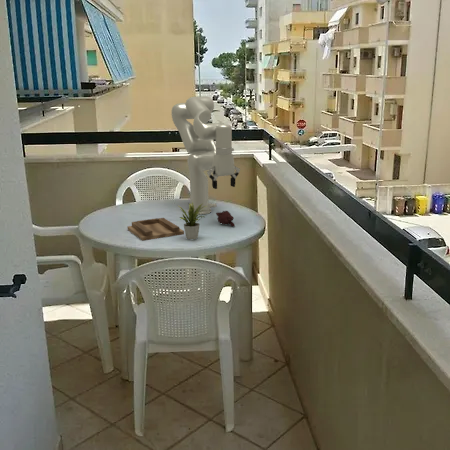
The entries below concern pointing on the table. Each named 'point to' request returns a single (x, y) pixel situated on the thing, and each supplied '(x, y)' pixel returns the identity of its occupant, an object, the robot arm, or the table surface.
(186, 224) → the house plant
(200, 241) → the table surface
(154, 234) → the cradle
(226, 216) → the icecream
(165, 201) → the table surface
